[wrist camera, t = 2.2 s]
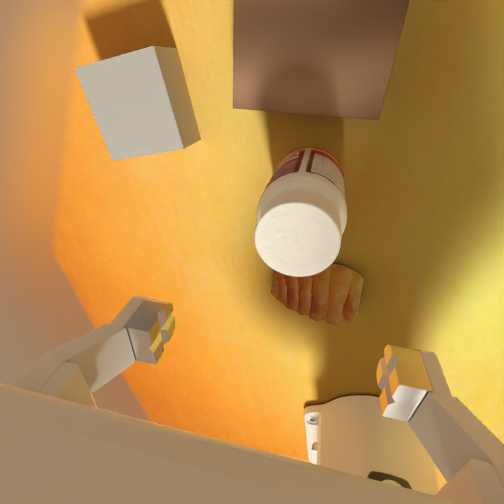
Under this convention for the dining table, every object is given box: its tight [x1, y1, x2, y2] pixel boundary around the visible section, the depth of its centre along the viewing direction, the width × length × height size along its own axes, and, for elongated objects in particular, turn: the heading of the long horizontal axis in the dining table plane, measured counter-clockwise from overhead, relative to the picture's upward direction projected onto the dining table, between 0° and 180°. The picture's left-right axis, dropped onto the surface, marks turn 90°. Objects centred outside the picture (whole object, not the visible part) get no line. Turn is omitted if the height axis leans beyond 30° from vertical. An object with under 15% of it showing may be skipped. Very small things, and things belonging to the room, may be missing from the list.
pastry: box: [271, 263, 364, 324], centre depth 31 cm, size 9×7×4 cm
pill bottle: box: [255, 148, 347, 277], centre depth 22 cm, size 6×6×11 cm
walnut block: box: [233, 0, 409, 120], centre depth 19 cm, size 10×10×4 cm
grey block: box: [74, 46, 201, 161], centre depth 25 cm, size 7×7×4 cm
